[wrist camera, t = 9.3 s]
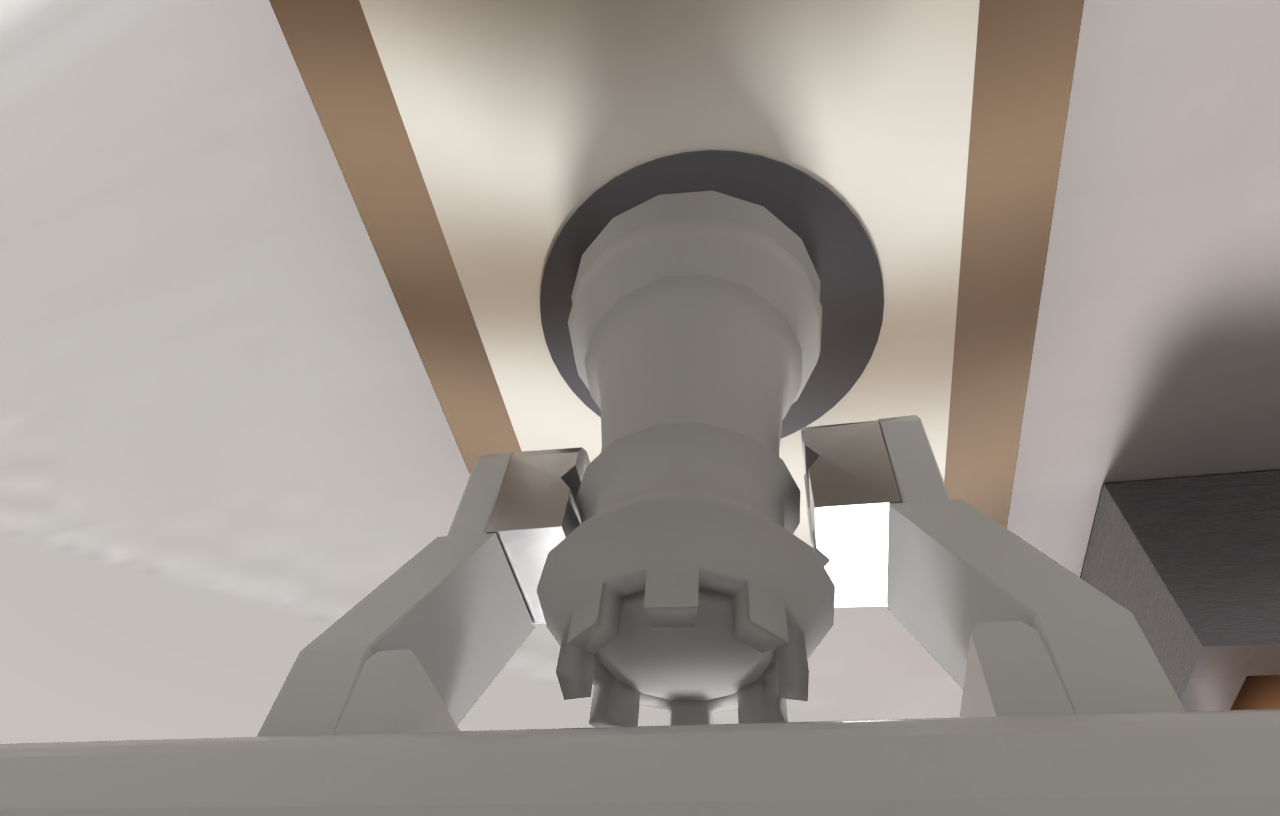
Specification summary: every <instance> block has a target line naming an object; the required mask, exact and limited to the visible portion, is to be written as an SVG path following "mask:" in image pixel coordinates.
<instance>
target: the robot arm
mask: <svg viewBox="0 0 1280 816" xmlns="http://www.w3.org/2000/svg"><path fill="white" fill-rule="evenodd" d="M801 439H802V453H803V461H804V468H805V475H804V483H805V495H806V507H807V517H808V524H809V532H810V539H811V543H812V544H813V549H814V550H815V552H816V554H817V555H818V557H819V559H820V561H821V562H822V564H823V566H824V567H825V569H826V571H827V573H828V574H829V576H830V578H831V579H832V581H833V583H834V584H835V586H836V587H835V603H834V607H863V606H888V610H889V611H890V612H891V613H892V614H893V615H894V616H895V617H896V618H897V620H898V621H899V622H900V623H901V624H902V625H903V626H904V627H905V628H906V629H907V630H908V631H909V632H910V633H911V635H912V636H913V637H914V638H915V639H916V640H917V641H918V642H919V643H920V644H921V645H922V646H923V647H924V649H925V650H926V651H927V652H928V653H929V654H930V655H931V656H932V657H933V658H934V659H935V660H936V661H937V662H938V664H939V665H940V666H941V667H942V668H943V669H944V670H945V671H946V672H947V673H948V674H949V675H950V676H951V677H952V679H953V680H954V681H955V682H956V683H957V684H958V685H959V686H960V687H961V688H962V689H963V696H962V704H961V711H960V718H927V719H892V720H856V721H820V722H785V723H749V724H712V725H675V726H640V727H639V726H638V727H601V728H563V729H530V730H529V729H528V730H527V729H526V730H490V731H460V730H459V729H458V727H457V726H458V724H459V723H460V722H461V720H462V719H463V718H464V717H465V716H466V714H467V713H468V711H469V710H470V709H471V708H472V707H473V705H474V704H475V703H476V702H477V700H478V699H479V698H480V696H481V695H482V694H483V693H484V691H485V690H486V689H487V688H488V686H489V685H490V684H491V682H492V681H493V680H494V679H495V677H496V676H497V675H498V674H499V672H500V671H501V670H502V669H503V667H504V666H505V665H506V663H507V662H508V661H509V660H510V658H511V657H512V656H513V655H514V653H515V652H516V651H517V649H518V648H519V647H520V646H521V644H522V643H523V642H524V641H525V639H526V638H527V637H528V635H529V634H530V633H531V632H532V630H533V629H534V628H535V627H534V624H542V623H546V621H545V618H544V615H543V611H542V608H541V605H540V601H539V598H538V594H537V591H536V590H537V586H538V583H539V580H540V577H541V574H542V571H543V568H544V564H545V561H546V558H547V555H548V553H549V552H550V551H551V550H552V549H553V548H554V547H556V546H557V545H558V544H559V543H560V542H561V541H562V540H563V539H565V538H566V537H567V536H568V535H569V534H570V533H571V532H572V531H574V530H575V529H576V528H577V527H578V526H579V525H580V524H581V523H582V521H581V517H580V512H579V508H578V503H577V499H576V497H577V494H578V491H579V488H580V485H581V482H582V479H583V476H584V473H585V470H586V467H587V466H588V465H589V464H590V460H589V457H588V454H587V451H586V450H584V449H583V448H582V447H580V448H565V449H551V450H536V451H522V452H516V453H500V454H487V455H482V456H481V457H480V458H479V459H477V461H476V462H475V465H474V467H473V470H472V473H471V475H470V478H469V480H468V483H467V486H466V488H465V491H464V493H463V496H462V499H461V501H460V504H459V507H458V509H457V512H456V514H455V517H454V520H453V522H452V525H451V527H450V530H449V533H448V535H447V537H437V538H436V539H435V540H433V541H432V542H431V543H430V544H429V545H427V546H426V547H425V548H424V549H423V550H421V551H420V552H419V553H418V554H417V555H415V556H414V557H413V558H412V559H411V560H409V561H408V562H407V563H406V564H405V565H403V566H402V567H401V568H400V569H399V570H397V571H396V572H395V573H394V574H393V575H391V576H390V577H389V578H388V579H387V580H385V581H384V582H383V583H382V584H381V585H379V586H378V587H377V588H376V589H375V590H374V591H372V592H371V593H370V594H369V595H368V596H366V597H365V598H364V599H363V600H362V601H360V602H359V603H358V604H357V605H356V606H354V607H353V608H352V609H351V610H350V611H348V612H347V613H346V614H345V615H344V616H342V617H341V618H340V619H339V620H338V621H336V622H335V623H334V624H333V625H332V626H330V627H329V628H328V629H327V630H326V631H324V632H323V633H322V634H321V635H320V636H318V637H317V638H316V639H315V640H314V641H312V642H311V643H310V644H309V645H308V646H306V647H305V648H304V649H303V650H302V651H300V653H299V655H298V657H297V659H296V661H295V663H294V665H293V667H292V669H291V671H290V673H289V675H288V677H287V679H286V681H285V682H284V684H283V686H282V689H281V690H280V692H279V694H278V696H277V698H276V700H275V702H274V704H273V706H272V708H271V710H270V712H269V714H268V716H267V718H266V720H265V722H264V724H263V726H262V728H261V730H260V732H259V733H258V736H257V737H237V738H236V737H235V738H199V739H165V740H164V739H163V740H129V741H91V742H57V743H56V742H54V743H18V744H0V816H1280V709H1258V710H1221V711H1185V709H1184V707H1183V705H1182V703H1181V702H1180V700H1179V698H1178V696H1177V694H1176V692H1175V690H1174V689H1173V687H1172V685H1171V683H1170V681H1169V679H1168V678H1167V676H1166V674H1165V672H1164V670H1163V668H1162V667H1161V665H1160V663H1159V661H1158V659H1157V657H1156V656H1155V654H1154V652H1153V650H1152V648H1151V646H1150V645H1149V643H1148V641H1147V639H1146V637H1145V635H1144V634H1143V632H1142V630H1141V628H1140V626H1139V624H1138V623H1137V621H1136V619H1135V617H1134V615H1133V613H1131V612H1130V611H1128V610H1127V609H1125V608H1124V607H1123V606H1121V605H1120V604H1118V603H1117V602H1115V601H1114V600H1112V599H1111V598H1109V597H1108V596H1106V595H1105V594H1103V593H1102V592H1100V591H1099V590H1097V589H1096V588H1094V587H1093V586H1091V585H1090V584H1088V583H1087V582H1085V581H1084V580H1082V579H1081V578H1079V577H1078V576H1076V575H1075V574H1073V573H1072V572H1071V571H1069V570H1068V569H1066V568H1065V567H1063V566H1062V565H1060V564H1059V563H1057V562H1056V561H1054V560H1053V559H1051V558H1050V557H1048V556H1047V555H1045V554H1044V553H1042V552H1041V551H1039V550H1038V549H1036V548H1035V547H1033V546H1032V545H1030V544H1029V543H1027V542H1026V541H1024V540H1023V539H1021V538H1020V537H1019V536H1017V535H1016V534H1014V533H1013V532H1011V531H1010V530H1008V529H1007V528H1005V527H1004V526H1002V525H1001V524H999V523H998V522H996V521H995V520H993V519H992V518H990V517H989V516H987V515H986V514H984V513H983V512H981V511H980V510H978V509H977V508H975V507H974V506H972V505H971V504H970V503H968V502H967V501H965V500H964V499H951V500H950V497H949V494H948V492H947V489H946V486H945V484H944V481H943V478H942V475H941V473H940V470H939V467H938V465H937V462H936V459H935V457H934V454H933V451H932V448H931V446H930V443H929V440H928V438H927V435H926V432H925V429H924V427H923V424H922V421H921V419H920V418H919V417H918V416H916V415H910V416H901V417H892V418H884V419H877V421H865V422H854V423H844V424H834V425H823V426H813V427H803V428H801Z"/></svg>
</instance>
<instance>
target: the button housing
mask: <svg viewBox="0 0 1280 816" xmlns="http://www.w3.org/2000/svg"><path fill="white" fill-rule="evenodd" d="M1081 579H1082V580H1084V581H1085V582H1087V583H1088V584H1090V585H1091V586H1093V587H1094V588H1096V589H1097V590H1099V591H1100V592H1102V593H1103V594H1105V595H1106V596H1108V597H1109V598H1111V599H1112V600H1114V601H1115V602H1117V603H1118V604H1120V605H1121V606H1123V607H1124V608H1125V609H1127V610H1128V611H1130V612H1131V613H1133V615H1134V617H1135V619H1136V621H1137V623H1138V624H1139V626H1140V628H1141V630H1142V632H1143V634H1144V635H1145V637H1146V639H1147V641H1148V643H1149V645H1150V646H1151V648H1152V650H1153V652H1154V654H1155V656H1156V657H1157V659H1158V661H1159V663H1160V665H1161V667H1162V668H1163V670H1164V672H1165V674H1166V676H1167V678H1168V679H1169V681H1170V683H1171V685H1172V687H1173V689H1174V690H1175V692H1176V694H1177V696H1178V698H1179V700H1180V702H1181V703H1182V705H1183V707H1184V709H1185V711H1221V710H1230V709H1231V707H1232V705H1233V703H1234V701H1235V699H1236V697H1237V695H1238V693H1239V691H1240V689H1241V687H1242V685H1243V683H1244V681H1245V679H1246V677H1247V676H1257V675H1280V470H1274V471H1261V472H1248V473H1235V474H1222V475H1209V476H1196V477H1183V478H1170V479H1157V480H1144V481H1131V482H1118V483H1105V484H1103V488H1102V492H1101V496H1100V500H1099V504H1098V508H1097V513H1096V517H1095V521H1094V525H1093V529H1092V533H1091V537H1090V541H1089V546H1088V550H1087V554H1086V558H1085V562H1084V566H1083V570H1082V575H1081Z"/></svg>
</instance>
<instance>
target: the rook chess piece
mask: <svg viewBox="0 0 1280 816" xmlns="http://www.w3.org/2000/svg"><path fill="white" fill-rule="evenodd" d="M571 299H572V308H571V312H570V315H569V319H568V327H569V332H570V337H571V342H572V347H573V352H574V358H575V363H576V367H577V372H578V375H579V377H580V378H581V380H582V381H583V382H584V384H585V385H586V387H587V388H588V390H589V391H590V395H591V397H592V398H593V400H594V401H595V403H596V404H597V405H598V407H599V408H600V410H601V435H602V449H601V453H600V454H599V455H598V456H597V457H596V458H595V459H594V460H593V461H592V462H591V463H590V464H589V465H588V466H587V467H586V470H585V473H584V476H583V479H582V482H581V485H580V488H579V491H578V494H577V497H576V499H577V503H578V508H579V512H580V517H581V521H582V523H581V524H580V525H579V526H578V527H577V528H576V529H575V530H574V531H572V532H571V533H570V534H569V535H568V536H567V537H566V538H565V539H563V540H562V541H561V542H560V543H559V544H558V545H557V546H556V547H554V548H553V549H552V550H551V551H550V552H549V553H548V555H547V558H546V561H545V564H544V568H543V571H542V574H541V577H540V580H539V583H538V586H537V590H536V591H537V594H538V598H539V601H540V605H541V608H542V611H543V615H544V618H545V621H546V625H547V627H548V629H549V630H550V632H551V633H552V635H553V636H554V637H555V639H556V640H557V642H558V643H559V645H560V646H561V648H560V653H559V659H558V664H557V669H556V673H557V677H558V680H559V683H560V686H561V690H562V693H563V696H564V700H566V699H575V698H584V697H591V690H592V684H593V685H594V691H593V699H592V706H591V713H590V720H589V724H590V725H592V726H594V727H596V728H601V727H637V726H638V714H639V706H642V707H647V708H651V709H655V710H660V711H664V712H668V713H670V723H669V726H675V725H712V724H713V713H716V712H721V711H725V710H730V709H734V708H738V717H739V724H749V723H785V722H788V719H787V707H786V699H794V700H802V701H808V676H809V671H808V662H807V659H808V658H809V657H810V655H811V654H812V653H813V651H814V650H815V648H816V647H817V646H818V644H819V643H820V642H821V640H822V639H823V638H824V636H825V635H826V634H827V632H828V631H829V630H830V628H831V627H832V625H833V618H834V603H835V587H836V586H835V584H834V583H833V581H832V579H831V578H830V576H829V574H828V573H827V571H826V569H825V567H824V566H823V564H822V562H821V561H820V559H819V557H818V555H817V554H816V552H815V550H814V549H813V548H812V547H811V546H810V545H808V544H807V543H805V542H804V541H802V540H801V539H799V538H798V537H796V536H795V535H793V534H794V532H795V530H796V529H797V527H798V525H799V524H800V489H799V488H798V486H797V484H796V482H795V481H794V479H793V477H792V475H791V474H790V472H789V470H788V468H787V466H786V465H785V463H784V461H783V460H782V459H781V458H780V457H779V450H780V440H781V429H782V420H783V419H784V418H785V416H786V414H787V412H788V411H789V409H790V407H791V405H792V404H793V403H794V402H795V401H797V400H798V398H799V396H800V394H801V392H802V390H803V388H804V387H805V385H806V383H807V381H808V379H809V377H810V375H811V373H812V371H813V369H814V368H815V366H816V364H817V361H818V358H819V355H820V352H821V330H822V305H821V303H820V279H819V277H818V275H817V272H816V270H815V268H814V266H813V263H812V261H811V259H810V257H809V255H808V252H807V250H806V248H805V246H804V243H803V241H802V239H801V238H800V237H799V236H797V235H796V234H795V233H794V232H793V231H792V230H790V229H789V228H788V227H787V226H786V225H785V224H783V223H782V222H781V221H780V220H779V219H778V218H776V217H775V216H774V215H773V214H772V213H771V212H769V211H768V210H767V209H766V208H765V207H764V206H761V205H757V204H754V203H751V202H748V201H745V200H741V199H738V198H735V197H732V196H729V195H725V194H722V193H719V192H716V191H701V192H688V193H676V194H663V195H658V196H656V197H654V198H652V199H650V200H648V201H646V202H644V203H642V204H640V205H638V206H636V207H634V208H632V209H630V210H628V211H626V212H624V213H622V214H620V215H618V216H616V217H614V218H612V220H611V221H610V222H609V223H608V224H607V226H606V227H605V228H604V229H603V230H602V232H601V233H600V234H599V235H598V236H597V238H596V239H595V240H594V241H593V242H592V244H591V245H590V246H589V247H588V248H587V250H586V251H585V252H584V253H583V254H582V258H581V262H580V265H579V269H578V273H577V277H576V281H575V285H574V288H573V292H572V296H571Z"/></svg>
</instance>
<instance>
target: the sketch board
mask: <svg viewBox="0 0 1280 816" xmlns="http://www.w3.org/2000/svg"><path fill="white" fill-rule="evenodd" d="M269 1H270V3H271V5H272V8H273V10H274V13H275V15H276V17H277V20H278V22H279V24H280V27H281V29H282V32H283V34H284V36H285V39H286V41H287V43H288V46H289V48H290V50H291V53H292V55H293V58H294V60H295V62H296V65H297V67H298V69H299V72H300V74H301V76H302V79H303V81H304V84H305V86H306V88H307V91H308V93H309V95H310V98H311V100H312V102H313V105H314V107H315V110H316V112H317V114H318V117H319V119H320V121H321V124H322V126H323V128H324V131H325V133H326V136H327V138H328V140H329V143H330V145H331V147H332V150H333V152H334V154H335V157H336V159H337V162H338V164H339V166H340V169H341V171H342V173H343V176H344V178H345V180H346V183H347V185H348V188H349V190H350V192H351V195H352V197H353V199H354V202H355V204H356V206H357V209H358V211H359V214H360V216H361V218H362V221H363V223H364V225H365V228H366V230H367V232H368V235H369V237H370V240H371V242H372V244H373V247H374V249H375V251H376V254H377V256H378V258H379V261H380V263H381V266H382V268H383V270H384V273H385V275H386V277H387V280H388V282H389V284H390V287H391V289H392V292H393V294H394V296H395V299H396V301H397V303H398V306H399V308H400V310H401V313H402V315H403V318H404V320H405V322H406V325H407V327H408V329H409V332H410V334H411V336H412V339H413V341H414V344H415V346H416V348H417V351H418V353H419V355H420V358H421V360H422V362H423V365H424V367H425V370H426V372H427V374H428V377H429V379H430V381H431V384H432V386H433V388H434V391H435V393H436V396H437V398H438V400H439V403H440V405H441V407H442V410H443V412H444V414H445V417H446V419H447V422H448V424H449V426H450V429H451V431H452V433H453V436H454V438H455V440H456V443H457V445H458V448H459V450H460V452H461V455H462V457H463V459H464V462H465V464H466V466H467V469H468V471H469V474H470V475H471V473H472V470H473V467H474V465H475V462H476V461H477V459H479V458H480V457H481V456H482V455H487V454H500V453H516V452H522V451H536V450H551V449H565V448H580V447H582V448H583V449H584V450H586V451H587V454H588V457H589V460H590V463H591V462H592V461H593V460H594V459H595V458H596V457H597V456H598V455H599V454H600V453H601V449H602V435H601V410H600V408H599V407H598V405H597V404H596V403H595V401H594V400H593V398H592V397H591V395H590V391H589V390H588V388H587V387H586V385H585V384H584V382H583V381H582V380H581V378H580V377H579V375H578V372H577V367H576V363H575V358H574V352H573V347H572V342H571V337H570V332H569V327H568V319H569V315H570V312H571V308H572V299H571V296H572V292H573V288H574V285H575V281H576V277H577V273H578V269H579V265H580V262H581V258H582V254H583V253H584V252H585V251H586V250H587V248H588V247H589V246H590V245H591V244H592V242H593V241H594V240H595V239H596V238H597V236H598V235H599V234H600V233H601V232H602V230H603V229H604V228H605V227H606V226H607V224H608V223H609V222H610V221H611V220H612V218H614V217H616V216H618V215H620V214H622V213H624V212H626V211H628V210H630V209H632V208H634V207H636V206H638V205H640V204H642V203H644V202H646V201H648V200H650V199H652V198H654V197H656V196H658V195H663V194H676V193H688V192H701V191H716V192H719V193H722V194H725V195H729V196H732V197H735V198H738V199H741V200H745V201H748V202H751V203H754V204H757V205H761V206H764V207H765V208H766V209H767V210H768V211H769V212H771V213H772V214H773V215H774V216H775V217H776V218H778V219H779V220H780V221H781V222H782V223H783V224H785V225H786V226H787V227H788V228H789V229H790V230H792V231H793V232H794V233H795V234H796V235H797V236H799V237H800V238H801V239H802V241H803V243H804V246H805V248H806V250H807V252H808V255H809V257H810V259H811V261H812V263H813V266H814V268H815V270H816V272H817V275H818V277H819V279H820V303H821V305H822V330H821V352H820V355H819V358H818V361H817V364H816V366H815V368H814V369H813V371H812V373H811V375H810V377H809V379H808V381H807V383H806V385H805V387H804V388H803V390H802V392H801V394H800V396H799V398H798V400H797V401H795V402H794V403H793V404H792V405H791V407H790V409H789V411H788V412H787V414H786V416H785V418H784V419H783V420H782V429H781V440H780V450H779V457H780V458H781V459H782V460H783V461H784V463H785V465H786V466H787V468H788V470H789V472H790V474H791V475H792V477H793V479H794V481H795V482H796V484H797V486H798V488H799V489H800V524H799V525H798V527H797V529H796V530H795V532H794V534H793V535H795V536H796V537H798V538H799V539H801V540H802V541H804V542H805V543H807V544H808V545H810V546H811V547H812V548H813V544H812V543H811V539H810V532H809V524H808V517H807V507H806V495H805V483H804V475H805V468H804V461H803V453H802V439H801V428H803V427H813V426H823V425H834V424H844V423H854V422H865V421H877V419H884V418H892V417H901V416H910V415H916V416H918V417H919V418H920V419H921V421H922V424H923V427H924V429H925V432H926V435H927V438H928V440H929V443H930V446H931V448H932V451H933V454H934V457H935V459H936V462H937V465H938V467H939V470H940V473H941V475H942V478H943V481H944V484H945V486H946V489H947V492H948V494H949V497H950V500H951V499H964V500H965V501H967V502H968V503H970V504H971V505H972V506H974V507H975V508H977V509H978V510H980V511H981V512H983V513H984V514H986V515H987V516H989V517H990V518H992V519H993V520H995V521H996V522H998V523H999V524H1001V525H1002V526H1004V527H1005V528H1007V523H1008V516H1009V509H1010V502H1011V495H1012V488H1013V482H1014V475H1015V468H1016V461H1017V454H1018V448H1019V441H1020V434H1021V427H1022V420H1023V413H1024V407H1025V400H1026V393H1027V386H1028V379H1029V373H1030V366H1031V359H1032V352H1033V345H1034V339H1035V332H1036V325H1037V318H1038V311H1039V304H1040V298H1041V291H1042V284H1043V277H1044V270H1045V264H1046V257H1047V250H1048V243H1049V236H1050V230H1051V223H1052V216H1053V209H1054V202H1055V195H1056V189H1057V182H1058V175H1059V168H1060V161H1061V155H1062V148H1063V141H1064V134H1065V127H1066V120H1067V114H1068V107H1069V100H1070V93H1071V86H1072V80H1073V73H1074V66H1075V59H1076V52H1077V46H1078V39H1079V32H1080V25H1081V18H1082V11H1083V5H1084V0H269Z"/></svg>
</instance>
